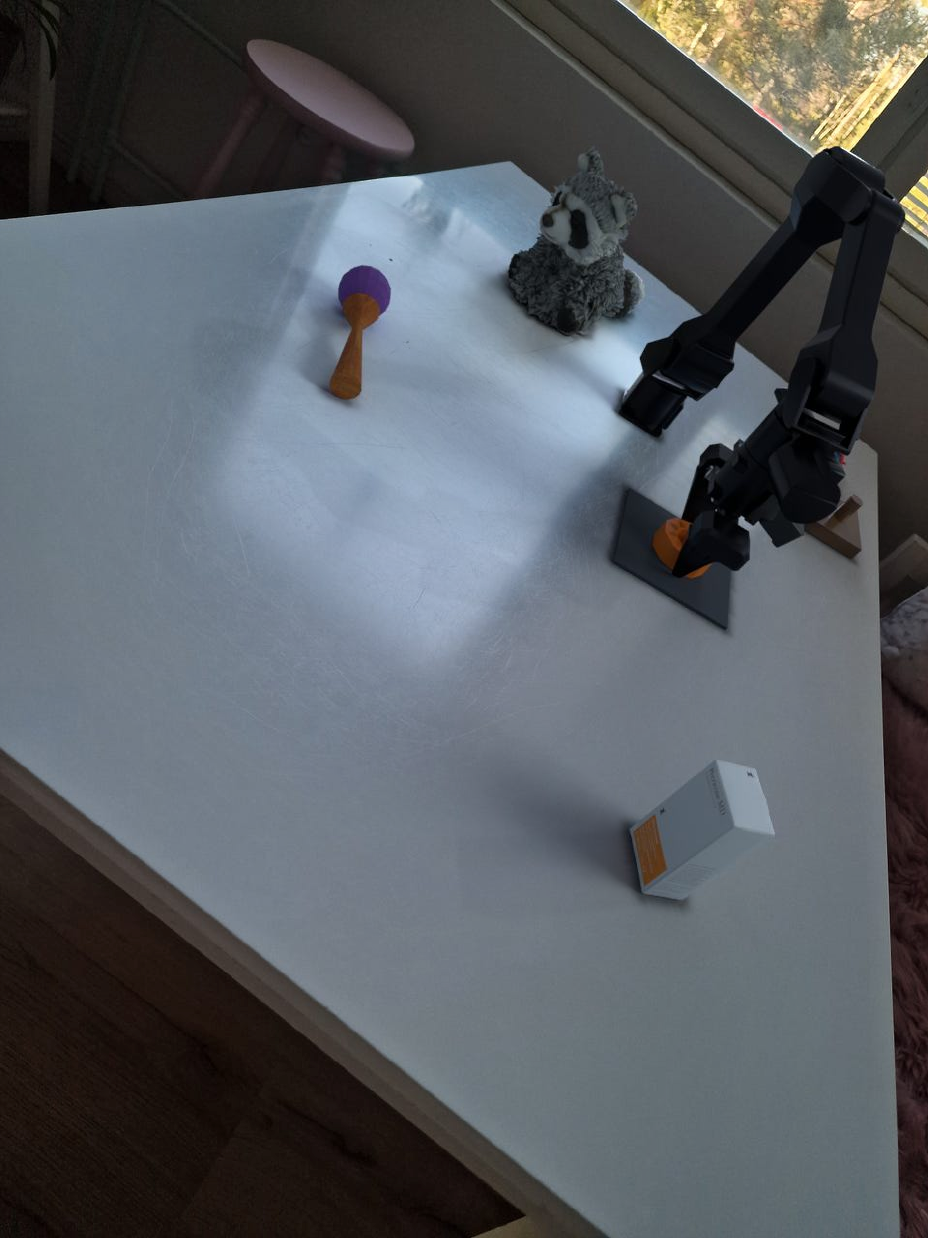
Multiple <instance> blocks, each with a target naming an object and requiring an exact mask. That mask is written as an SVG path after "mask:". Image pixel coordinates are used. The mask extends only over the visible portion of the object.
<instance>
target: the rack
mask: <svg viewBox="0 0 928 1238" xmlns="http://www.w3.org/2000/svg"><path fill="white" fill-rule="evenodd" d="M862 506H864V502H863V500H862V499H861V498H860V497H859V495H857V494H851V495H850V496H849V497H848V498H846V500H845V501H843V500H842V499H840V501H839V503H838V505H837V509H836V510H835V511H834V512H833V513H832V514H830V515H829V516H828V517H826V518H824V519H822V520H820V521H817V522H814V523H809V524H804V532H806V533H808V534H810V535H811V536H813V537H814V538H816V539H817V540H819V541H821V542H822V543H824V544H825V545H827V546H829V547H830V548H832V549H834V550H835V551H837V552H839V553H840V554H842V555H843V556H845V557H846V558H848V559H849V560H853V559H854V558H855V557H856V556H857V555H858V554H859V553H861V552H862V550H863V549H862V540H861V531H860V521H859V512H858V510H859V509H861V507H862Z"/></svg>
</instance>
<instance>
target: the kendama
mask: <svg viewBox="0 0 928 1238" xmlns="http://www.w3.org/2000/svg"><path fill="white" fill-rule="evenodd" d="M337 292H338V293H337V299H338V301H339V304H340V305H341V307H342V313H343V315H344V317H345V319H346V320H347V323H348V324H349V326H350V327H351V330H350V332H349V335H348V336H347V340H346V341H345V344H344V347H343V349H342V352H341V354H340V357H339V359H338V361H337V363H336V366H335V368H334V371H333V373H332V375H331V377H330V380H329V390H330V391H331V393H332V394H333V395H334V396H335V397H337V398H339V399H342V400H347V401H348V400H353V399H356V398H357V397H359V396H360V395H361V392H362V390H363V389H362V387H363V383H362V382H363V380H362V379H363V376H362V375H363V331H364V330H366V329H368V328H369V327H370V326H372V325H374V324H375V322H377V321H378V319H379V317H380V316H382V315H383V314H384V313H385V312H386V311H387V310H388V308H389V306H390V304H391V298H392V297H391V295H392V288H391V285H390V283H389V281H388V279H387V277H386V276H385V275H384V273H383V272H381V270H379V269H378V268H376V267H374V266H372V265H365V264H361V265H357V266H354V267H352V268H350V269H348V271H346V272H345V273H344V274H343V275H342V277H341V279H340V281H339V284H338V288H337Z"/></svg>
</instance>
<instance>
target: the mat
mask: <svg viewBox="0 0 928 1238" xmlns="http://www.w3.org/2000/svg"><path fill="white" fill-rule="evenodd" d="M674 518H679V519H681V517H678V516H677V515H675V514H673V513H672V512H670V511H669V510H667V509H665V508H664V507H662V506H660V505H659V504H657V503H656V502H654V501H652V500H651V499H649V498H648V497H646V496H645V495H643V494H641V493H639V492H638V491H636V490H635V489H633V488H631V487H629V488H628V490H627V494H626V497H625V502H624V508H623V512H622V516H621V521H620V524H619V525H620V526H619V531H618V535H617V540H616V545H615V547H614V548H615V549H614V554H613V558H612V563H614V564H615V565H616V566H618V567H620V568H621V569H623V570H625V571H626V572H628V573H630V574H632V575H633V576H635V577H636V578H638V579H640V580H642V582H645V583H646V584H648V585H650V586H651V587H653V588H655V589H657V591H660V592H661V593H663V594H665V595H667V597H670V598H672V599H673V600H674V601H677V603H679V604H682V605H683V606H685V607H686V608H688V609H690V610H691V611H693V612H695V613H697V614H698V615H700V616H701V617H703V618H705V619H706V620H708V621H709V622H711V623H713V624H715V625H716V626H718V627H720V628H722V629H723V630H727V629H728V627H729V626H728V625H729V611H730V593H731V578H732V575H731V574H732V570H731V569H729V568H728V567H726V566H724V565H723V564H721V563H720V562H714V563H713V564H712V565H711V566H710V567H709V568H708V569H707V570H706V571H705V572H704V573H703V574H702V575H700V576H697V577H694V578H691V579H690V578H688V577H685V576H684V577H682V578H677V577H675V576H673V575H672V570H671V569H670V568H669V567H668V566H667V565H666V564H664V563H663V562H662V561H661V560H660V558H659V556H658V555H657V553H656V551H655V549H654V547H653V539H654V534H655V533H656V532H657V531H658V530H659V529H660V528H661V526H662V525H663V524H664V523H665V522H666V521H667V520H670V519H674Z"/></svg>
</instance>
